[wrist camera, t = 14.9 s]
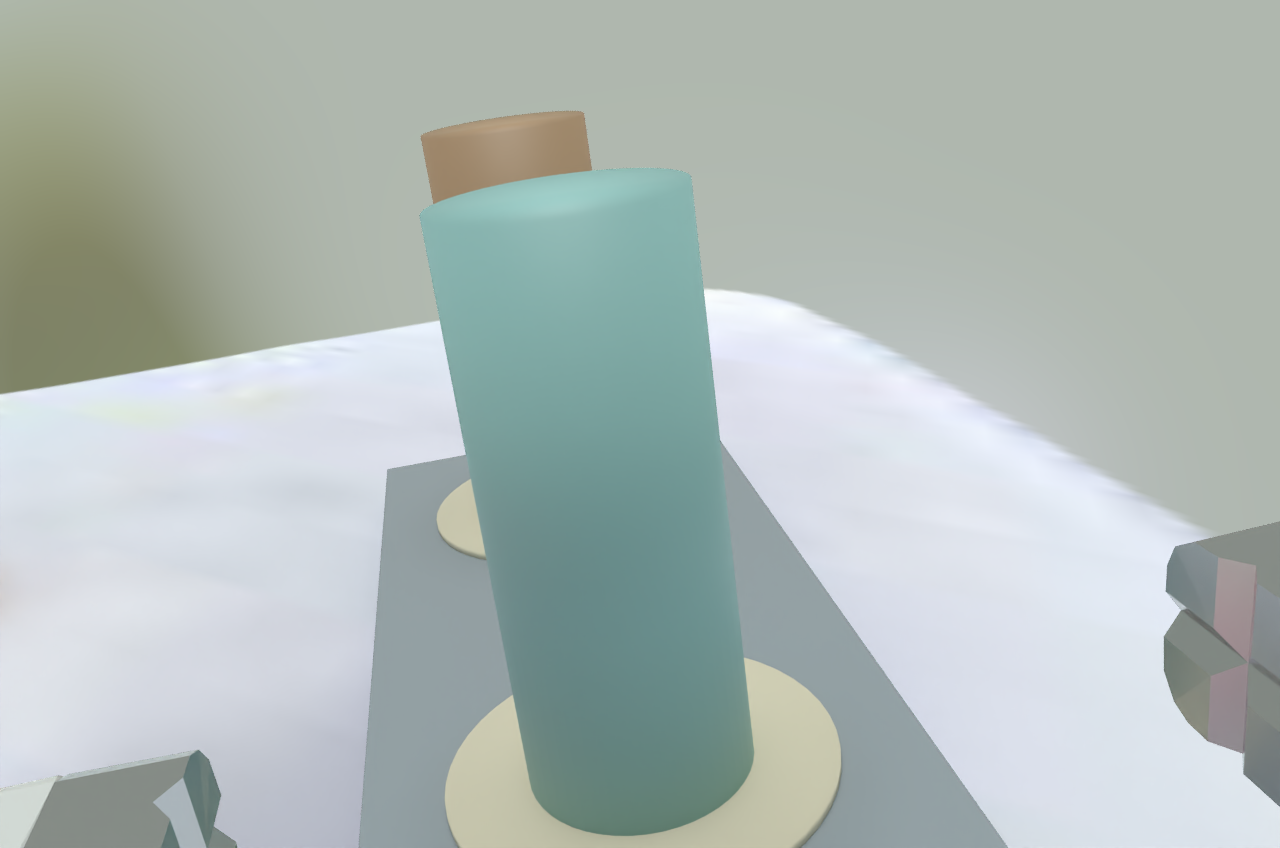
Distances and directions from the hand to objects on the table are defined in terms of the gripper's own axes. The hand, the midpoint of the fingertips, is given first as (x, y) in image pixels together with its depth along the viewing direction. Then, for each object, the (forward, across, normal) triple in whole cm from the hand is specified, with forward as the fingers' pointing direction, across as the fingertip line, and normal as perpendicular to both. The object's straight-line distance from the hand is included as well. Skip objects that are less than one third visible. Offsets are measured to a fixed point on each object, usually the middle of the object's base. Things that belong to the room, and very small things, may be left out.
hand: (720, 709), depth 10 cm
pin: (+9, 0, +7) cm, 11 cm away
